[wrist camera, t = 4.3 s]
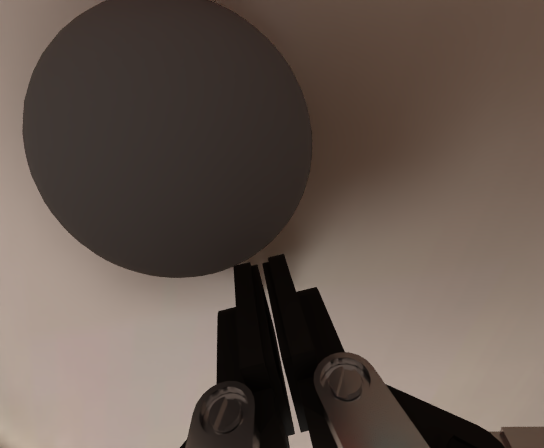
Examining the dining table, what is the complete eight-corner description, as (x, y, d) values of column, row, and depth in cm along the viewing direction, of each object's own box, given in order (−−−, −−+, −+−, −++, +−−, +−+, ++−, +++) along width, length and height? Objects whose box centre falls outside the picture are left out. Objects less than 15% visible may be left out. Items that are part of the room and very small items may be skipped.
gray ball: (324, 313, 7) (293, 162, 11) (368, 50, 3) (294, -48, 7) (76, 337, 7) (129, 177, 11) (-214, 96, 3) (30, -30, 7)
